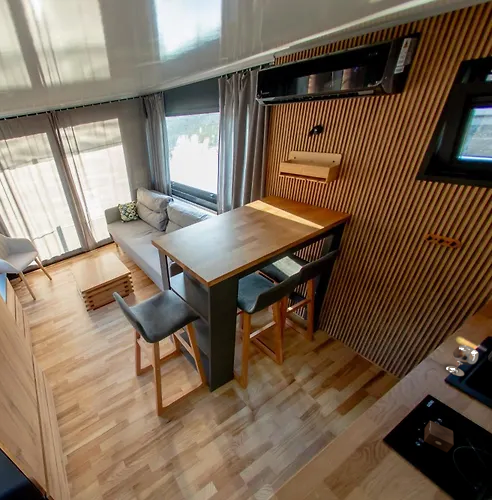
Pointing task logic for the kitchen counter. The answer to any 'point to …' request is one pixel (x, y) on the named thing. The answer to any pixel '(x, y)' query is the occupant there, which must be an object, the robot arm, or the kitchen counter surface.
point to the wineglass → (463, 358)
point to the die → (438, 436)
